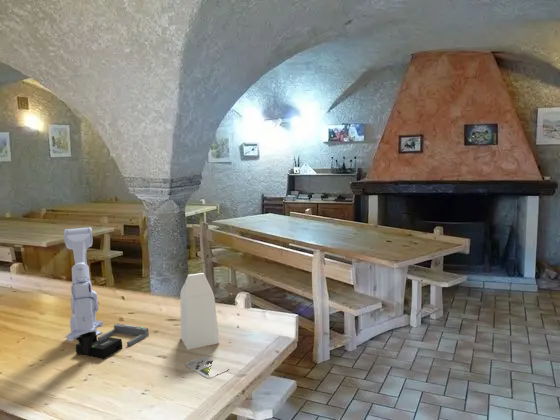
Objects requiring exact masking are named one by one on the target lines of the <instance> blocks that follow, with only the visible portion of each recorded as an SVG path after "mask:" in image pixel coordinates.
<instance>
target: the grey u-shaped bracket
mask: <svg viewBox="0 0 560 420" xmlns="http://www.w3.org/2000/svg"><path fill="white" fill-rule="evenodd" d="M116 334H123V335H127V336H128V335H129V336H135V337H134V338H131V339H130V340H129V341H126V346H127V347H132V346H133V345H134V344H137V343H138V342H140V341H142V340H143V339H145V338H146V337H148V336H149V335H150V334H149V327H143V326H137V325H131V324H124V323H123V324H122V323H116V324H114V325H113V329H112V330H110V331H107V332H106V333H104V334H102V335H101V334H100V336H99V335H98V336H97V341H102V340H103V339H106V338H107V337H112V336H113V335H116Z"/></svg>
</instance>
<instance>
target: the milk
mask: <svg viewBox="0 0 560 420" xmlns="http://www.w3.org/2000/svg"><path fill="white" fill-rule="evenodd" d="M179 295H180V296H179V297H180V339H181V341H182V343H183V344H184V346H185V348H186V350H187V351H188V350H193V349H198V348H203V347H207V345H208V346H212V345H216V344H217V343H218V344H220V337H219V327H218V320H217V309H216V298H215V294H214V292H213V289H212V287H211V285H210V283H209V281H208V279H207V276H206V275H205V273H204V272H199V273H194V274H193V273H192V274H187V277H186V279H185V282H184V283H183V286H182V287H181V289H180V292H179ZM218 344H217V345H218Z"/></svg>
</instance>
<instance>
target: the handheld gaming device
mask: <svg viewBox="0 0 560 420" xmlns="http://www.w3.org/2000/svg"><path fill="white" fill-rule="evenodd" d="M213 360H214V359H213V358H210V357H209V356H207V355H202V356H200V357H197V358H195V359H192V360H189V361H186V362H184V363H185V364H184V365H185V367H186V368H188V369H191V370H192V371H193V372H195V373H197V374H199V375H200V374H201V375H200V376H202V377H204V378H205V377H206V379H207V378H210V379H212V378H211V377H209V374H208V373H209V371H210V369H211V368H210V369H209V367H211V366H212V365H211V366H209V367H207V366H208V365H209V363H210V364H212V362H213ZM204 365H205V366H204ZM206 365H207V366H206ZM208 370H209V371H208ZM207 376H208V377H207Z"/></svg>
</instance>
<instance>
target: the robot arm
mask: <svg viewBox="0 0 560 420" xmlns="http://www.w3.org/2000/svg"><path fill="white" fill-rule="evenodd" d="M63 236H64V237H63V240H64V245H65V247H66V249H68V250H72V252H73V260H74V265H73V266H72V267H71V283H72V285H70V291H71V297H70V309H71V310H70V311H71V314H72V315H71V317H70V320H69V324H70V333H68V334H66V341H68V342H73V341H74V340H76V341H77V342H78V343H80V345H81V347H82V350H83V352H84V353H85V354H89V353H91V347H92V343H93V340H94V337H95V336H97V337H98V336H99V335H101V334H102V333H103V332H102V330H101V331H100V330H98V328H102V327H104V326H103V321H102V320H97V318H96V317H97V316H96V315H97V314H96V313H98V312H99V300H98V299H99V298H98V293H97V291H95V290H93V287H92V281H91V278H90V266H89V265H88V259H87V251H88V249H89V248H91V247H93V242H94V240H93V229H92V227H91V226H88V227H80V228H78V227H76V228H65V229H64V230H63Z"/></svg>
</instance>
